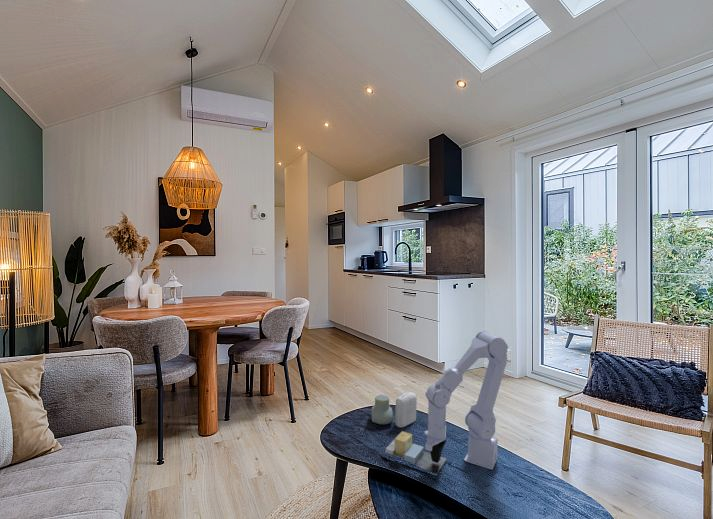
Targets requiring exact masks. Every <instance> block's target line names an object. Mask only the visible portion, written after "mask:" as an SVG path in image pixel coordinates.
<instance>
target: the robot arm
mask: <svg viewBox="0 0 713 519" xmlns="http://www.w3.org/2000/svg"><path fill="white" fill-rule="evenodd" d="M508 349H509V346H508V344H507V343H506V340H505V339H503V338H502V337H498V336H496V335H495V334H491V333H489V332H488V331H486V330H482V331H479V332H478V333H477V334H476V335H475V337H473V338H472V340H471V344H470V346H469V347H468V349H467V350H466V351H465V353H464V354H463V356H461V358H460V359H459V361H457V363H456V364H455V366H454V367H449V368H448V369H446V370H444V372H443V374H442V376H441V377H440V378H439V379H438V380H437V381H436V382H435V383H434V384H432V385H429V387H428V388H427V389H426V392H425V397H426V399H427V401H428V409H427V411H428V412H427V430H425V431H424V434H423V435H424V436H426V440H425V447H424V451H427V452H428V451H429V453H430V454H431V458H432V461H433V462H436V463H438V462H439V460H440V457H442V453H443V449H444V447H445V444H446V443H447V439H446V438H447V434H446V433H447V426H446V419H447V418H446V417H447V416H446V414H447V405H448V404H450V401H451V396H452V393H454V392H455V390H456V389H457V388H458V386H460V384H461V383H462V382H463V378H464V377H463V376H464V374H465V373H466V372H467V371H468V370H469V369H470V368H471V367H472V366H473V365H474V364H475V363H476V362H477V361H479V359H486V358H487V360H488V364H487V367H486V370H485V374H484V378H483V381H482V384H481V388H480V392H479V395H478V397H477V398H478V399H477V401H476V404H474V405H471V406H470V409H469V411H468V413H467V414H466V416H465V419H464V421H465V424H466V426H467V427H468V428H467V430H468V442H467V444H468V446H467V453H466V455H465V457H464V458H463V459H464V460H463V462H467V463H469V464H473V465H476V466H479V467H482V468H485V469H488V470H493V469H494V467H495V466H496V465H495V464H496V463H497V460H498V447H499V446H498V439H497V438H496V437H494V435H495V433H496V421H497V418H496V416H495V413H494V411H493V410H494V407H495V403H496V400H497V396H498V393H499V390H500V387H501V383H502V380H503V377H504V374H505V369H506V366H507V363H508V356H507V352H508Z"/></svg>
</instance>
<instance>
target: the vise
mask: <svg viewBox="0 0 713 519" xmlns="http://www.w3.org/2000/svg"><path fill="white" fill-rule="evenodd" d="M384 451H385V453H386V454H389V455H392V456H394V453H395V438H394V439H393V440H392V441H391V442H390V443H389V445H387V446H386V448H385V450H384ZM446 461H448V459H447V457H443V456H441V457H440V460H439V462H438V463H436V462H433V461H432V458H431V454H430V452H428V451H426V450H424V453H423V454H422V455H421V457H420V458H419V459H418V460H417V462H416V463H415V464H416V466H417V464H418V466H419V467H421V469H422V468H423V469H424V470H427V471H429V472H432V473H435V474H437V473H438V472H439V470H440V469H441V468H442V466H443V465H444V464H446V463H447V462H446ZM445 462H446V463H445ZM444 466H445V465H444ZM444 466H443V467H444ZM442 469H443V468H442ZM442 469H441V470H442ZM439 473H440V472H439Z"/></svg>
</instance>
